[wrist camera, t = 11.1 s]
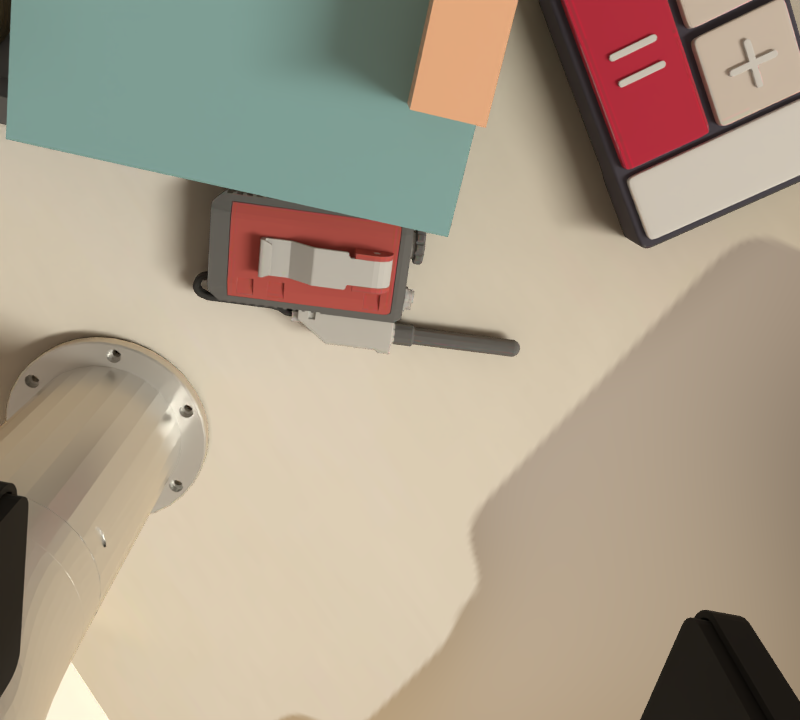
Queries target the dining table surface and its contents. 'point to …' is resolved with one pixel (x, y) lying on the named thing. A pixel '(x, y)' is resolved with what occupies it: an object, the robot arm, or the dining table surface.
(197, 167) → the lid
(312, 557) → the dining table surface
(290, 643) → the dining table surface
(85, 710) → the milk
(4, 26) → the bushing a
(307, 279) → the walkie-talkie
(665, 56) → the calculator
